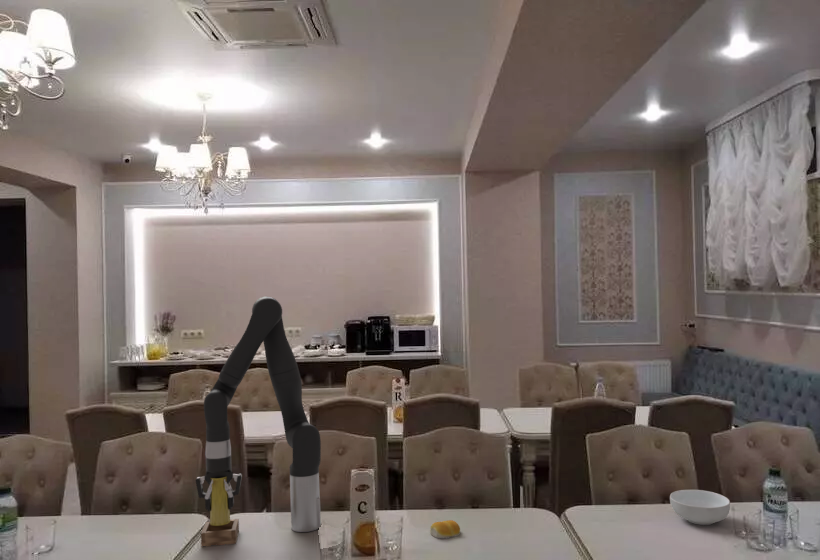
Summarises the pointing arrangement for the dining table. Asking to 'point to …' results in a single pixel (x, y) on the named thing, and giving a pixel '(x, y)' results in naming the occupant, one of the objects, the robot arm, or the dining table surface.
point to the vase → (219, 503)
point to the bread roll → (445, 529)
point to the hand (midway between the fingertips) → (219, 509)
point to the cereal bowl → (700, 506)
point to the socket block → (220, 533)
